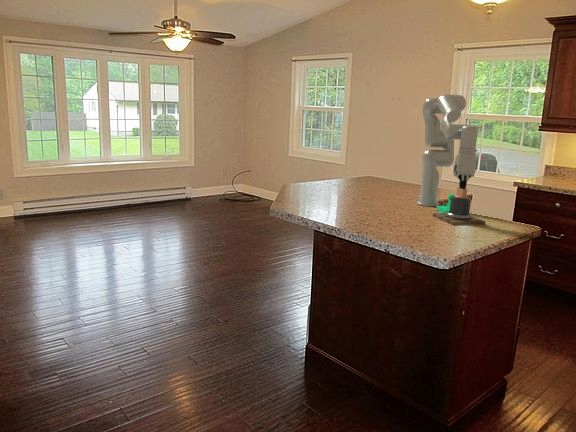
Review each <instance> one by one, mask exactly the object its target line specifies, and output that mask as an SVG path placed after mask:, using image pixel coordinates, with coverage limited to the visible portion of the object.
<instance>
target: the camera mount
mask: <svg viewBox="0 0 576 432" xmlns="http://www.w3.org/2000/svg"><path fill="white" fill-rule="evenodd" d="M456 194H457V193H449V194H448V196H447V201H448V202H447V204H446V205H438V206H436V208H435V209H436V210H437V211H438V212H439V213H447V211H449V210H450V201H451V196H455V195H456Z"/></svg>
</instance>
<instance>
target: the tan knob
mask: <svg viewBox="0 0 576 432" xmlns="http://www.w3.org/2000/svg"><path fill="white" fill-rule="evenodd" d="M455 194H456V195H455V196H454V197H455V198H458V199H468V198H469V197H468V196H467V194H468V189H467V188H466V189H461V188H459V187H458V186H457V188H456V193H455Z"/></svg>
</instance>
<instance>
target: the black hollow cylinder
mask: <svg viewBox="0 0 576 432" xmlns="http://www.w3.org/2000/svg"><path fill="white" fill-rule="evenodd" d="M471 203H472V198H471V197H468V199H458V198H455V197H454V196H451V201H450V210H449V211H447V213H446V217H448V218H451V219H456V220H470V219H471V217H472V216H473V214H472V213H470V212H471V211H470V210H471V205H472V204H471Z"/></svg>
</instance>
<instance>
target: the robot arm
mask: <svg viewBox="0 0 576 432" xmlns="http://www.w3.org/2000/svg"><path fill="white" fill-rule="evenodd" d="M466 101H467V100H466V98H465V96H463V95H461V94H442V95H441V96H439V97H431V98H427V99H425V101H424V102H423V104H422V109H421V110H422V117H423V120H424V142H425V146H427V147H428V148H439V149H427V150H425V151H424V152H423V153H422V157H421V158H422V159H421V160H422V161H421V162H422V173H421V181H420V193H419V195H418V197H417V198H418V200H416V204H417V205H419V206H423V207H425V206H426V207H437V206H440V203H439V202H437V200H438V191H439V183H440V172H439V170H438V169H437V167H439V168H441V167H442V168H444V167H445V168H447V167H451V166H453V169H452V172H453V173H454V174H453V177H456V178H458V180H459V183H458V184H459V185H458V186H459V188H461V189H467V183H468V181H469V179H470V178H474V177H475V174H476V170H477V155H476V153H477V152H478V149H477V143H478V142H477V140H478V133H479V128H478V127H477V126H476V125H470V124H461V123H459V124H456V123H455V122H457V121H458V120H459V119H460V118H461V115H462V111H464V110H465V108H466V105H467V102H466ZM436 114H438V115H442V116H443V117H442V119H441V121H440V119H439V116H438V115H436ZM455 140H459V148H458V153H456V156H455ZM440 148H442V149H440Z"/></svg>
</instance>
